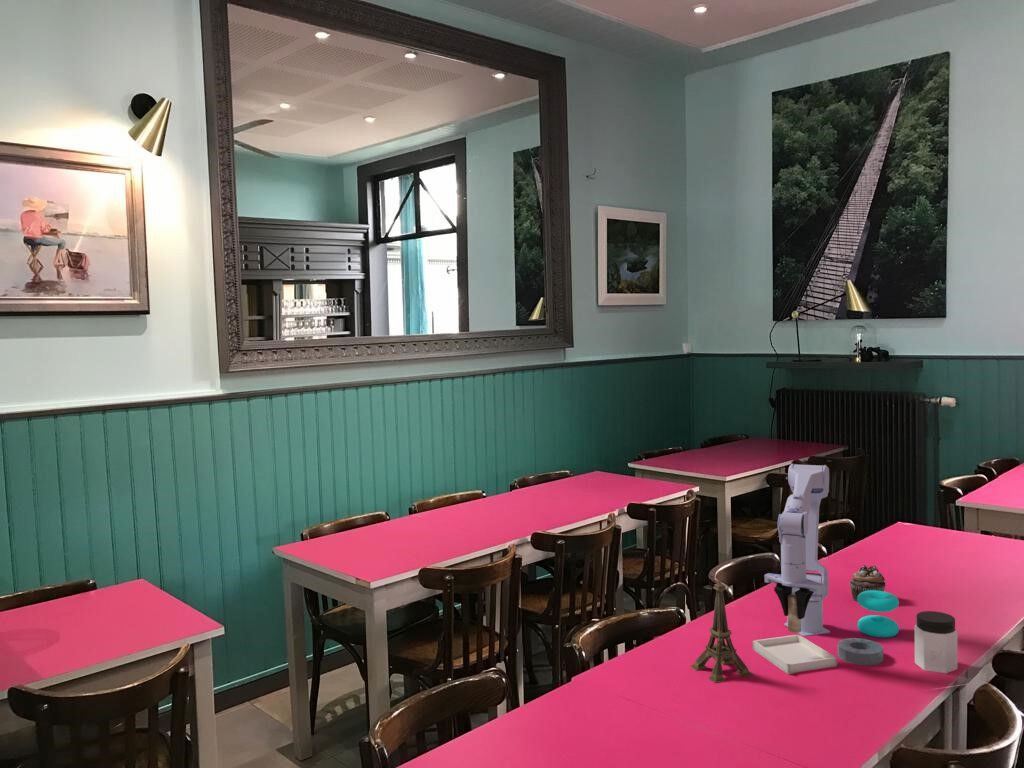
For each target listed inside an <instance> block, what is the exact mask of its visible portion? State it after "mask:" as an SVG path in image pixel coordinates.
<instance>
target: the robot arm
mask: <svg viewBox="0 0 1024 768" xmlns="http://www.w3.org/2000/svg"><path fill="white" fill-rule="evenodd" d="M787 481H788V485H789V487H790V490H791V492H792V494H790V495H789V496H788V497H787V499H786V502H785V506H784V510H783V511H782V513H779V514H778V518H777V532H778V538H779V539H778V540H779V543H780V568H781V569H780V571H781V573H779V574H778V573H772V572H771V573H770V572H768V573H765V574H764V583H767V584H770V583H771V584H776V585H775V587H774V588H773V591H774V592H775V594H776V595H777V598H778V599H779V602H780V605H781V608H782V612H783V615H784V617H786V622H785V623H784V626H786V627H787V628H788V595H790V594H795V596H796V600H797V616H798V619H801V632H798V633H797V634H799V635H800V636H802V637H809V636H810V637H811V636H817V635H825V634H830V633H831V630H829V629H827V628H826V627H824V618H823V617H824V616H823V615H824V613H823V612H824V609H823V607H824V605H823V601H824V600H823V599H826V598H827V597H828V595H829V587H830V585H829V584H830V583H829V572H828V569H827V567H826V566H825V565H824V564H823V563H821V562H820V561H819V560H818V553H819V552H818V551H819V526H820V525H819V524H820V521H819V520H820V505H821V501H822V499H825V498H827V497H828V496H829V495H828V494H829V492H830V468H829V467H828V466H827V464H824V465H820V464H819V465H816V464H813V465H812V464H795V463H791V464H790V465H789V467H788V473H787ZM813 572H814V573H813ZM817 572H818V573H817Z"/></svg>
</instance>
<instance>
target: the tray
mask: <svg viewBox="0 0 1024 768" xmlns="http://www.w3.org/2000/svg"><path fill="white" fill-rule="evenodd" d="M752 650H753V651H754V652H756V653H757V654H758V655H760V656H761V657H762V658H764V659H766V660H767V661H768V662H769V663H771V664H773V665H774V666H775V667H777V668H779V669H780V670H781V671H783V672H784V673H786V674H787V675H794V674H796V673H799V672H806V671H814V670H820V669H826V668H834V667H838V657H837V656H835V655H834V654H832V653H830V652H828V651H827V650H825V649H823V648H821V647H820V646H819V645H817V644H815V643H813V642H812V641H810V640H809V639H807V638H805V636H802V635H801V634H799V633H797V634H791V635H784V636H778V637H776V636H775V637H770V638H763V639H762V638H761V639H755V640H752Z"/></svg>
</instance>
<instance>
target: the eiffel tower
mask: <svg viewBox="0 0 1024 768" xmlns="http://www.w3.org/2000/svg"><path fill="white" fill-rule="evenodd" d="M712 588H713V589H714V590H716V591H715V599H714V610H713V618H712V619H713V620H712V627H710V628H709V631H708V632H710V637H709V640H708V643H707V645H704V646H705V649H704V650H703V652H701V654H700V655H699V656H698V658H696V659H695V661H694V663H693V664H690V665H689V667H690V668H691V669H693V670H695V671H701V670H707V666H706V664H707V663H708V661H709V660H710V659H711V658H712V659H713V660H714V662H715V663H714V665H713V669H712V671H711V675H709V677H708V680H710V681H711V682H712V683H714V684H718V683H723V682H726V678H725V677H724V676H723V667H722V665H725V666H726V665H730V664H734V666H735V668H736V669H737V670H736V674H738V675H739V676H742V677H743V678H745V677H751V676H754V673H752V672H751V671H750V669H749V668H748V667H747V665H746V664H745V663H744V661H743V660H742V658H740V656H739V655H738V654H737V650H738V649H736V648H735V647H734V644H733V641H732V639H731V635H732V633H733V632H732V630H730V629H729V625H728V619H727V611H726V606H725V605H726V604H725V597H724V591H726V590H727V588H726V587H725V585H724V584H723V583H721V576H720V573H718V583H715V584H713V587H712Z"/></svg>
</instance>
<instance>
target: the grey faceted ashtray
mask: <svg viewBox="0 0 1024 768" xmlns="http://www.w3.org/2000/svg"><path fill="white" fill-rule="evenodd" d="M837 655H838V658H839V659H841V660H842V661H844V662H845V663H850V664H854V665H858V666H874V665H880V664H881V663H882V662H883V661H884V647H883V645H882V644H880V643H879V642H876V641H875V640H870V639H866V638H857V637H849V638H843V639H840V640H839V641H837Z"/></svg>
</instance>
